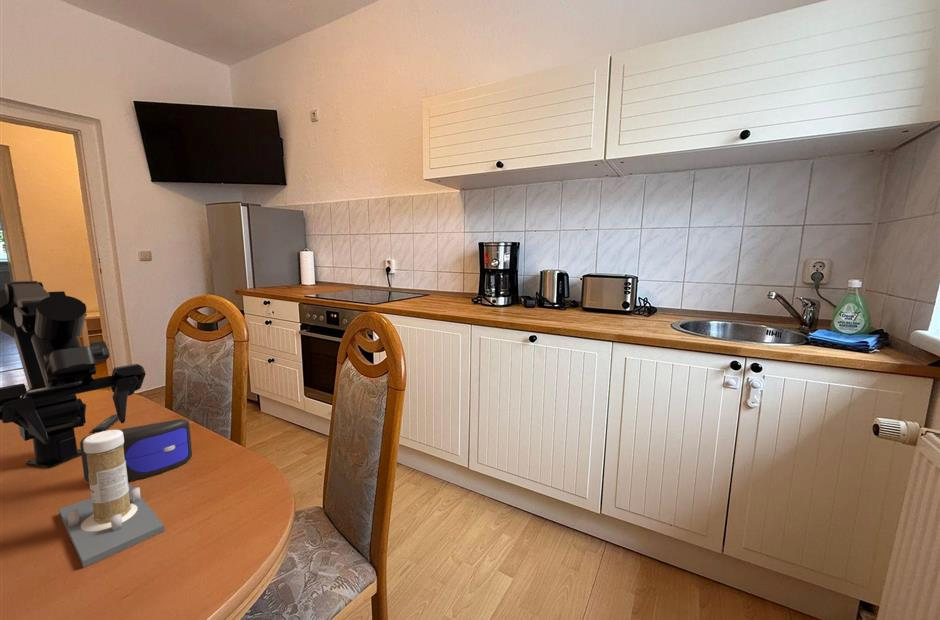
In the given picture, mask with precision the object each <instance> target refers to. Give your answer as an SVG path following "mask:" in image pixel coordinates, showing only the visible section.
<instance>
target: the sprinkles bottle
mask: <svg viewBox="0 0 940 620" xmlns="http://www.w3.org/2000/svg"><path fill="white" fill-rule="evenodd" d="M89 435H90V436H89ZM89 435H87V436H88V437H87V438H85V437H84V438H85V439H84V441H83V447H84V452H85V454H86V455H87V463H88V471H89V483H88V484H89V490H90V498H91V499H92V502H93V509H94V521H96V522H99V523H104V522H108V521H111V517H112V516H113V515H116V514H121V517H122V516H124V515H125V514H127V513H128V512H129V511H130V510H131V504H130V500H129V492H128V491H129V481H128V477H127V469H126V461H125V457H124V448H123V445H124V444H123V443H124V436H123V432H122V431H120V429H107V430H106V431H102V432H99V433H93V435H92V434H89Z"/></svg>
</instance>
